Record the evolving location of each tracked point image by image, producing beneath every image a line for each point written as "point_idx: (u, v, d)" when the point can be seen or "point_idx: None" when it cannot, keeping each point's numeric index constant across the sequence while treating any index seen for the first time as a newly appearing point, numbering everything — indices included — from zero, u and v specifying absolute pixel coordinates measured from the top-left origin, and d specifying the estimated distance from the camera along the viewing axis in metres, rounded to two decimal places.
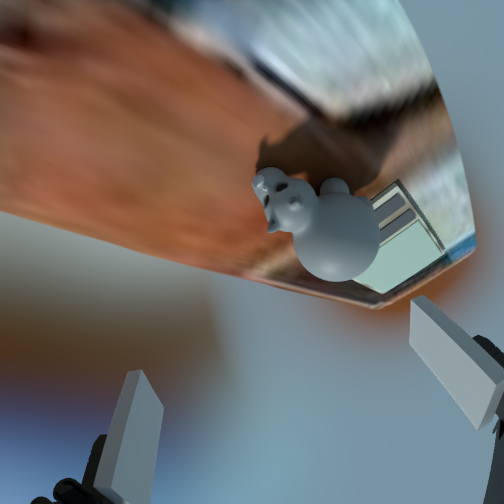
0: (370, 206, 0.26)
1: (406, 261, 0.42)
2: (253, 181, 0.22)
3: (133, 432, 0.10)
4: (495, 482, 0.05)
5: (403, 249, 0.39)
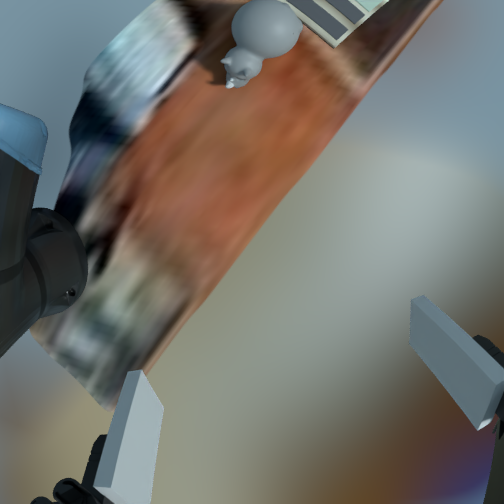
0: None
1: None
2: None
3: (133, 431, 0.10)
4: (495, 482, 0.05)
5: None
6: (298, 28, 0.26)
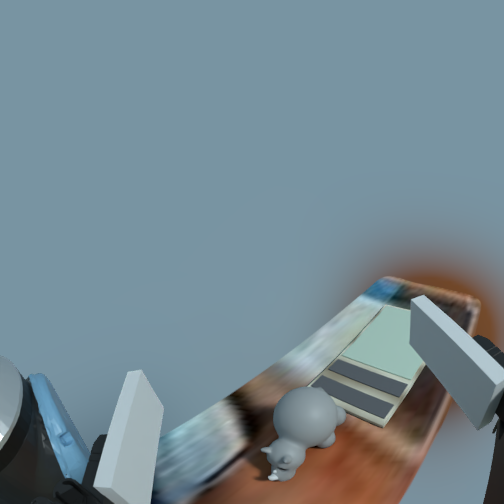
0: None
1: (395, 332, 0.46)
2: (268, 478, 0.27)
3: (133, 432, 0.10)
4: (495, 482, 0.05)
5: (378, 345, 0.45)
6: (333, 408, 0.29)
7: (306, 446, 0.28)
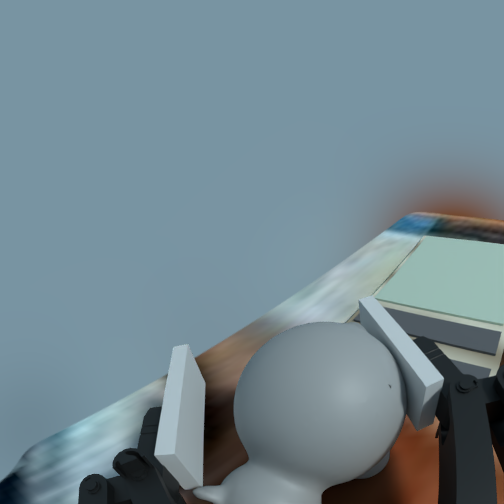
0: None
1: (452, 263, 0.27)
2: None
3: (186, 401, 0.12)
4: (445, 489, 0.06)
5: (432, 280, 0.26)
6: (399, 373, 0.10)
7: (325, 486, 0.09)
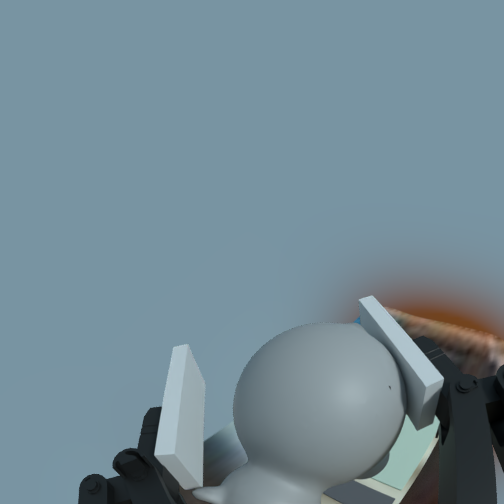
0: None
1: None
2: None
3: (186, 401, 0.12)
4: (445, 489, 0.06)
5: None
6: (399, 373, 0.10)
7: (325, 487, 0.09)
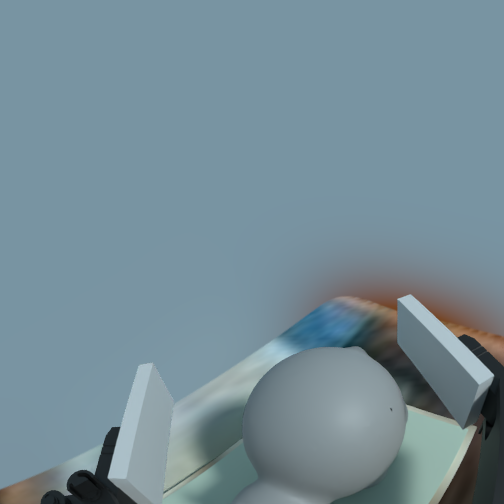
0: None
1: None
2: None
3: (146, 423, 0.11)
4: (483, 483, 0.05)
5: None
6: (399, 395, 0.11)
7: (331, 500, 0.09)
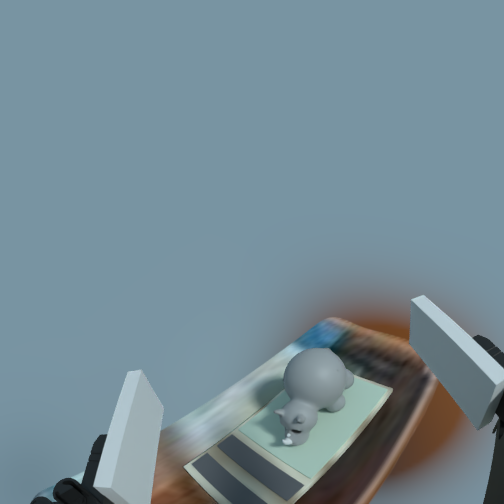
0: None
1: None
2: None
3: (133, 432, 0.10)
4: (495, 482, 0.05)
5: None
6: (342, 366, 0.32)
7: (318, 406, 0.30)
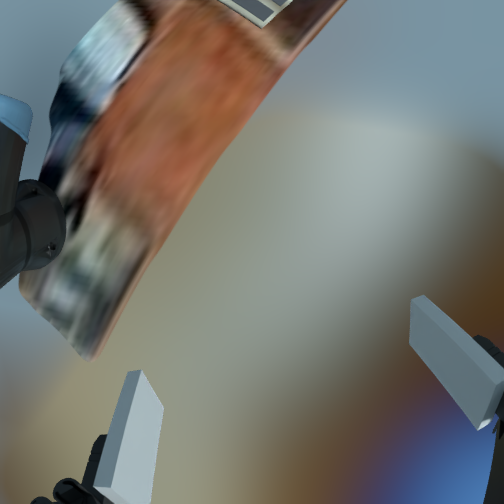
0: None
1: None
2: None
3: (133, 432, 0.10)
4: (495, 482, 0.05)
5: None
6: None
7: None
